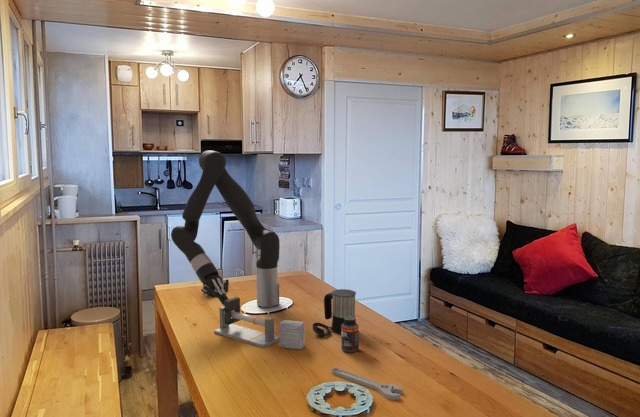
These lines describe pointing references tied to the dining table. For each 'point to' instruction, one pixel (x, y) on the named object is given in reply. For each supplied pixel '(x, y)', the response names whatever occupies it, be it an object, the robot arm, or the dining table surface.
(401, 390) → the adjustable wrench
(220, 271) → the grey rectangular block
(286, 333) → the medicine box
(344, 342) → the supplement bottle
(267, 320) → the pipe stand
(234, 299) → the collar
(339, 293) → the milk frother
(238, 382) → the dining table surface
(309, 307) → the dining table surface
